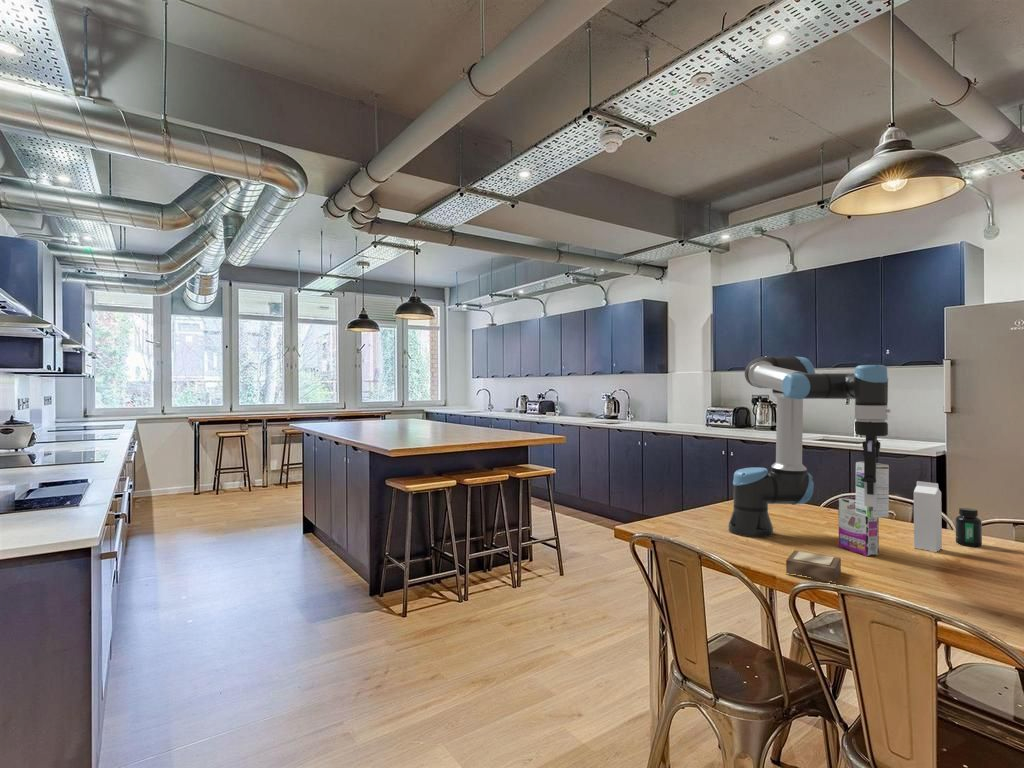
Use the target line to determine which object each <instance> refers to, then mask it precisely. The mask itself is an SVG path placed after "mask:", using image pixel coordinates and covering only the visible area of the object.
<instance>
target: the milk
mask: <svg viewBox="0 0 1024 768" xmlns="http://www.w3.org/2000/svg"><path fill="white" fill-rule="evenodd" d="M942 518H943V517H942V491H941V490H940V488H939V483H937V482H929V481H928V482H927V481H920V480H917V481H916V486H915V487H914V490H913V547H914V549H915V548H918V549H917V550H920V549H924V550H923V551H925V550H929V551H928V552H930V551H934V552H933V553H935V552H936V553H938V552H939V550H940V549H943V542H942V541H943V534H942V533H943V529H942V528H943V526H942V524H943V523H942ZM937 551H938V552H937ZM940 551H941V550H940Z"/></svg>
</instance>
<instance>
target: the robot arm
mask: <svg viewBox="0 0 1024 768" xmlns="http://www.w3.org/2000/svg"><path fill="white" fill-rule="evenodd" d="M854 369H855V370H854V372H851V373H850V372H846V373H845V372H844V373H840V372H839V373H831V372H830V373H829V372H828V373H826V372H825V373H816V371H815V366H814V365H813V364H812V361H811V360H810V359H809V358H806V357H805V356H804V357H803V356H761V357H758V358H755V359H753V360H752V361H750V362H749V363H748V364H747V365H746V367H745V370H744V378H745V380H746V382H747V383H748V384H749V385H750V386H753V387H754V388H756V389H757V388H758V389H770V390H772V395H774V397H775V398H776V429H775V430H776V437H775V438H776V439H775V440H776V441H775V442H776V443H775V462H773V464H771V468H770V469H771V470H770V471H768V468H765V467H760V466H759V467H756V466H755V467H743V468H740V469H736V471H735V472H734V473H733V480H732V485H733V486H732V487H733V488H732V489H733V495H732V496H733V497H732V498H733V510H732V513H731V516H730V519H729V522H728V531H729V532H731V533H732V534H735V535H739V536H745V537H751V538H753V537H754V538H768V537H772V536H773V535H774V526H773V523H772V521H771V518H770V515H769V511H768V510H769V505H775V504H776V505H793V506H794V505H803V504H807V503H808V502H809V500H811V498H812V496H813V493H814V488H815V485H814V483H815V482H814V481H813V479H814V478H813V476H812V475H811V473H810V472H808V471H807V470H808V469H807V467H806V466H805V465H804V464H803V433H804V432H803V430H804V429H803V427H804V426H803V424H804V415H803V414H804V399H806V400H807V399H808V400H809V399H810V400H811V399H812V400H813V399H814V400H815V399H821V400H823V399H824V400H825V399H827V400H829V399H830V400H835V399H836V400H854V401H855V402H854V404H855V405H854V419H856V422H854V428H855V429H854V431H855V434H856V435H858V436H865V441H862V445H861V446H862V449H863V450H862V451H863V452H862V455H863V459H864V460H863V461H864V479H861V482H864V504H865V506H870V507H877V482H876V463H879V457H880V455H881V451H880V449H881V442H880V441H879V440H878V437H886V436H888V435H889V424H888V422H887V420H888V419H889V417H888V416H889V415H888V413H891V409H890V408H888V404H889V403H888V401H889V400H888V399H889V397H888V396H889V393H888V392H889V377H888V367H887V366H886V365H882V364H862V365H861V364H860V365H857V366H855V368H854Z"/></svg>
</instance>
